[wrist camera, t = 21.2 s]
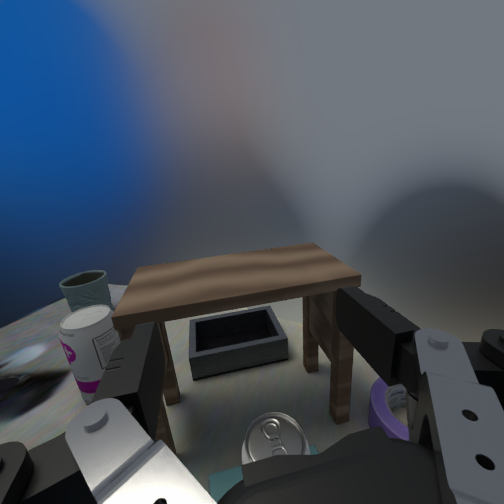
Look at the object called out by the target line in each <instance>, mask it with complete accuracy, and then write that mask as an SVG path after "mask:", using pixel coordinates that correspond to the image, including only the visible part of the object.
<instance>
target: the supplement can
mask: <svg viewBox="0 0 504 504" xmlns="http://www.w3.org/2000/svg"><path fill="white" fill-rule="evenodd" d="M113 313H114V312H113V311H112V310H111V309H110V307H108V306H107V305H93V306H88V307H85V308H82V309H79V310H77V311H75V312H73V313H71V314H69V315H68V316H66V317H65V318H64V319H63V320H62V321H61V325H60V326H61V328H60V331H59V338H60V341H61V343H62V346H63V349H64V351H65V354H66V356H67V359H68V361H69V364H70V367H71V369H72V372H73V374H74V377H75V380H76V382H77V385H78V387H79V390H80V393H81V395H82V398H83V399H84V401H85V402H86V403H89V404H91V401H92V399H93V397H94V394H95V392H96V390H97V387H98V385H99V383H100V380H101V378H102V376H103V373H104V371H105V369H106V366H107V364H108V362H109V359H110V357H111V355H112V352H113V350H114V349H115V348H116V347H117V346H118V345H119V344H120V343H121V342H120V338H119V335H118V332H117V330H115V329H114V326H113V322H112V319H111V316H112V315H113Z"/></svg>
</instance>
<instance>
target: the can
mask: <svg viewBox="0 0 504 504" xmlns="http://www.w3.org/2000/svg"><path fill="white" fill-rule="evenodd" d="M275 455H310V449H309V445H308V442H307V440H306V438H305V434H304V432H303V430H302V428H301V426H300V425H299V423H298V422H297V421H296V420H295V419H293V418H292V417H291V416H289V415H287V414H284V413H281V412H268V413H264V414H262V415H260V416H258V417H257V418H255V419H254V420H253V421H252V422H251V424H250V425H249V427H248V429H247V431H246V434H245V440H244V443H243V447H242V465H243V464H247V463H250V462H254V461H257V460H261V459H264V458H268V457H271V456H275Z"/></svg>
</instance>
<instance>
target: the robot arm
mask: <svg viewBox="0 0 504 504" xmlns="http://www.w3.org/2000/svg"><path fill="white" fill-rule="evenodd" d="M336 324H337V327H338V329H339V330H340V332H341V333H342V334H343V335H344V336H345V337H346V339H347V340H348V341H349V342H350V343H351V344H352V345H353V347H354V348H355V349H356V350H357V351H358V352H359V353H360V355H361V356H362V357H363V358H364V359H365V360H366V361H367V363H368V364H369V365H370V366H371V367H372V368H373V369H374V371H375V372H376V373H377V374H378V375H379V376H380V377H381V379H382V380H383V381H384V382H385V383H386V384H387V385H388V387H390V386H394V385H398V384H402V385H403V386H404V387H405V388H406V392H405V398H406V409H407V421H408V432H409V441H407V440H403V439H397V438H389V437H388V435H387V434H386V433H385V431H384V430H383V428H382V427H381V426H377V427H373V428H370V429H366V430H363V431H359V432H356V433H352V434H349V435H347V436H346V437H344V438H343V439H341V440H340V441H338V442H337V443H335V444H334V445H332V446H331V447H330V448H328V449H327V450H325V451H324V452H322V453H320V454H317V455H275V456H271V457H268V458H264V459H261V460H257V461H254V462H250V463H247V464H243V465H241V466H242V474H243V480H241V481H240V482H238V483H237V484H235V485H234V486H233V487H232V488H231V489H229V490H228V491H227V492H226V493H225V494H224V495H223V496H222V497H221V499H220V500H219V501H218V502H217V503H216V502H215V501H214V500H213V499H212V497H211V496H210V495H209V494H208V493H207V492H206V490H205V489H204V488H203V487H202V486H201V485H200V483H199V482H198V481H197V480H196V479H195V478H194V477H193V475H192V474H191V473H190V472H189V471H188V470H187V468H186V467H185V466H184V465H183V464H182V463H181V461H180V460H179V459H178V458H177V457H176V456H175V455H174V453H173V452H172V451H171V450H170V449H169V448H168V446H167V445H166V444H165V443H164V442H163V441H162V440H160V439H157V440H156V441H155V437H156V429H157V422H158V415H159V408H160V401H161V393H162V386H163V379H164V372H165V355H164V350H163V345H162V341H161V337H160V332H159V328H158V324H157V322H156V321H154V322H149V323H143V324H138V325H136V326H135V329H134V332H133V335H132V337H131V339H126V340H123V341H122V342H121V343H120V344H119V345H118V346H117V347H116V348H115V349H114V350H113V352H112V355H111V357H110V359H109V362H108V364H107V366H106V369H105V371H104V373H103V376H102V378H101V380H100V383H99V385H98V387H97V390H96V392H95V394H94V397H93V399H92V401H91V404H90V405H88V406H86V407H85V408H84V409H82V410H81V411H80V412H79V413H78V414H77V415H76V416H75V417H74V418H73V419H72V420H71V422H70V423H69V425H68V427H67V429H66V432H64V433H63V434H61V435H59V436H57V437H56V438H54V439H52V440H49V441H47V442H45V443H43V444H41V445H39V446H37V447H35V448H33V449H31V450H29V451H27V449H26V447H25V446H24V445H23V443H20V442H8V443H4V444H1V445H0V504H504V330H499V329H490V330H486V331H485V332H483V335H482V339H481V342H461V341H460V340H458V338H456V337H455V336H453V335H451V334H449V333H447V332H444V331H441V330H437V329H430V328H429V329H420V328H419V327H418V326H416V325H415V324H413V323H412V322H411V321H409V320H408V319H407V318H405V317H404V316H402V315H401V314H400V313H398V312H395V310H394V309H393V308H391V307H389V306H388V305H387V304H386V303H385V302H383V301H382V300H380V299H379V298H376V297H373V296H371V295H369V294H366V293H364V292H363V291H362V290H360V289H359V288H358V287H356V286H349V287H343V288H339V289H338V290H337V293H336Z"/></svg>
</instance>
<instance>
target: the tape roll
mask: <svg viewBox="0 0 504 504" xmlns="http://www.w3.org/2000/svg"><path fill="white" fill-rule="evenodd" d="M405 392H406V388H405V387H404V386H403V385H402V384H398V385H394V386H390V387H388V385H387V384H386V383H385V382H384V381H383V380H382V379H381V377H380V378H378V379H377V380H376V381H375V382H374V384H373V386H372V388H371V393H370V405H369V418H368V420H369V427H370V428H373V427H377V426H381V427H382V428H383V430H384V431H385V433H386V434H387V435H388V437H389V438H397V439H403V440H407V441H409V432H408V426H406V425H405V424H403V423H402V422H401V421H400V420H399V419H398V418H397V417H396V416H395V415H394V414H393V413H392V411H391V410H392V409H394V408H398V407H406V398H405Z"/></svg>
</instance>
